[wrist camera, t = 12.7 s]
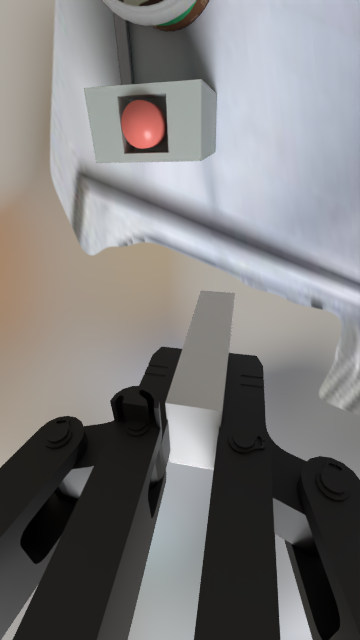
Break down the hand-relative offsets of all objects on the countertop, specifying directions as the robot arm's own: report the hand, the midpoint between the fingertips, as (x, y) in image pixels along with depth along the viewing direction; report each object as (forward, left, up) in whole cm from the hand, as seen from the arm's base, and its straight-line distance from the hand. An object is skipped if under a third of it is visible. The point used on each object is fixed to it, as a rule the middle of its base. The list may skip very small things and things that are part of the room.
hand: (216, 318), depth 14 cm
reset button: (+8, -8, -19) cm, 22 cm away
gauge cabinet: (+8, -8, -30) cm, 32 cm away
